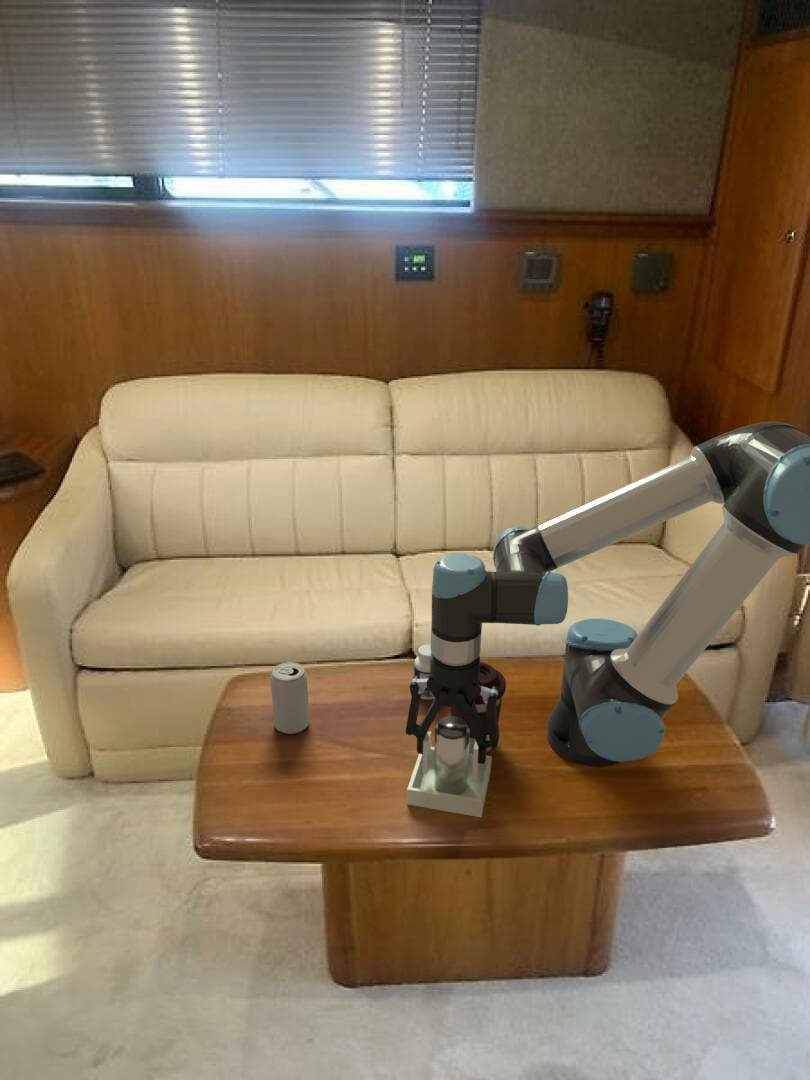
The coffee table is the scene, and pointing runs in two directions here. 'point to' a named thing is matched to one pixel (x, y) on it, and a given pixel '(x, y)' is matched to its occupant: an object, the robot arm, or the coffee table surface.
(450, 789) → the shaker
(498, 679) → the coffee cup
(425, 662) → the pill bottle
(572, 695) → the robot arm
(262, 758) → the coffee table surface
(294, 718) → the beverage can
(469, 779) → the tray
